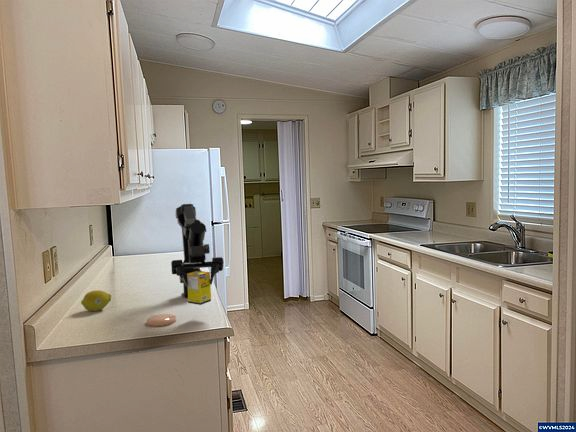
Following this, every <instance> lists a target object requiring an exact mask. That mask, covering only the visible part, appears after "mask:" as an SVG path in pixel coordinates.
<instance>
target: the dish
mask: <svg viewBox="0 0 576 432" xmlns="http://www.w3.org/2000/svg"><path fill="white" fill-rule="evenodd" d="M176 322H177V317H176V315H174V314H168V313H167V314H166V313H164V314H163V313H162V314H157V315H153V316H152V315H151V316H150V317H148V318H147V319H146V325H147V326H148V327H166V326H169V325H172V324H174V323H176Z"/></svg>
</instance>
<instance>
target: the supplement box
mask: <svg viewBox="0 0 576 432" xmlns="http://www.w3.org/2000/svg"><path fill="white" fill-rule="evenodd" d="M210 277H211V271H203V270H201V271H195V272H191V273H188V274H187V282H188V297H187V299H188V300H187V303H188V304H193V305H198V306H202V305H204V304H207V303H210V302H212V289H211V286H212V285H211V284H210Z"/></svg>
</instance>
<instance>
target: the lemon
mask: <svg viewBox="0 0 576 432" xmlns="http://www.w3.org/2000/svg"><path fill="white" fill-rule="evenodd" d="M111 300H112V294H111V293H108V292H105V291H104V290H100V289H98V290H92V291H91V290H90V291H89V292H87V293H85V295H84V297H83V298H82V300H81V302H80V304H81V305H82V306H83V308H84V309H85V310H86V311H88V312H98V311H100V310H103V309H104V308H105V307H106V306H107V305H108V304H109V303H110V302H111Z"/></svg>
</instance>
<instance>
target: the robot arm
mask: <svg viewBox="0 0 576 432" xmlns="http://www.w3.org/2000/svg"><path fill="white" fill-rule="evenodd" d="M196 209H197V208H196V207H195V206H194V203H193V204H192V203H182V204H181V205H180V206H178V207H177V208H175V219H177V224H178V225H179V226H180V228H181V235H182V247H183V259H174V260H172V261H171V263H170V264H171V265H170V266H171V274H172V275H176V276H178V277H179V283H180V284H183V292H182V293H180V294H181V296H183V297H184V298H188V282H187V274H188V273H191V272H195V271H202V270H201V269H203V268H204V269H205V268H210V286H212V285H213V282H214V278H215V276H216V274H218V273H219V272H222V271H223V270H224V258H223V257H222V256H216V257H214V256H213V257H212V258H211V261H206V254H208V255H209V254H210V252H211V251H210V244H204V240H205V237H206V235H205V234H206V232H207V227H206V225H205V224H204V223H203V222H201V221H200V219H197V210H196Z"/></svg>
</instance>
